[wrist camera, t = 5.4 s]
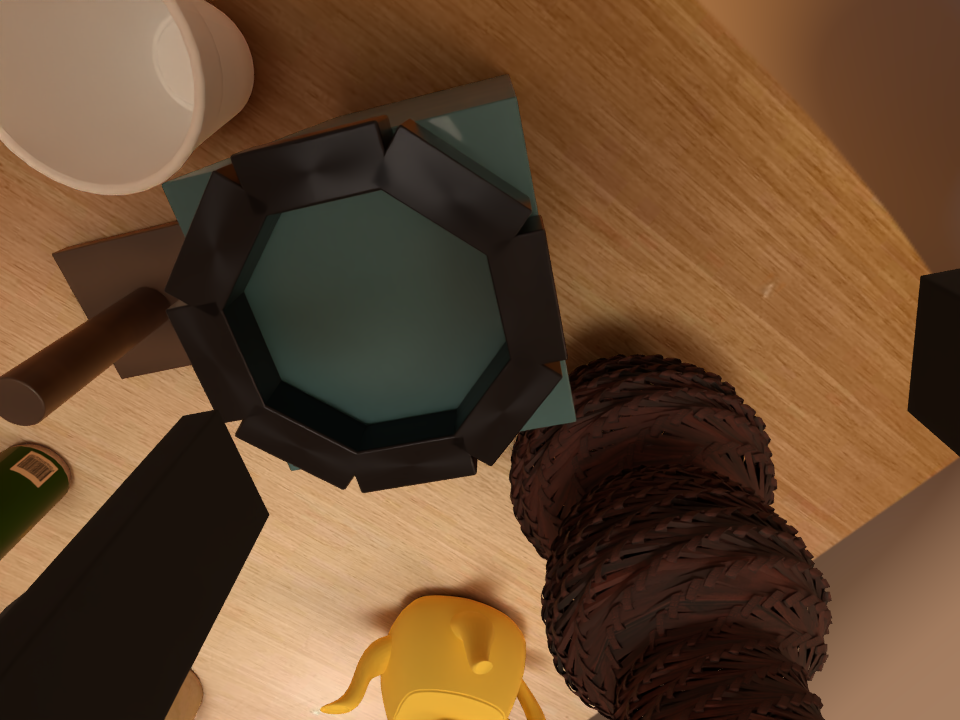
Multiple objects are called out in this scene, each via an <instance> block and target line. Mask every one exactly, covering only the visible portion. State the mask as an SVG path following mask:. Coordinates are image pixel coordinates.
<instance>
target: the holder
mask: <svg viewBox="0 0 960 720" xmlns="http://www.w3.org/2000/svg"><path fill="white" fill-rule="evenodd" d="M184 239H185V236H184V234H183V232H182V230H181V227H180V225H179V223H178V221H175V222H171V223H167V224H163V225H158V226H154V227H150V228H146V229H141V230H137V231H133V232H129V233H124V234H120V235H116V236H112V237H108V238H103V239H99V240H95V241H91V242H86V243H82V244H78V245H74V246H70V247H66V248H64V249H62V250H59V251H57V252H55V253H53V254H52V256H53V257H54V259H55V261H56V263H57V264H58V266H59V268H60V270H61V272H62V273H63V275H64V277H65V279H66V280H67V282H68V284H69V286H70V288H71V289H72V291H73V293H74V295H75V297H76V298H77V300H78V302H79V304H80V305H81V307H82V309H83V311H84V313H85V314H86V316H87V318H88V321H86V322H85V323H83V324H81V325H80V326H78V327H77V328H75V329H74V330H72V331H71V332H69V333H67V334H66V335H64V336H63V337H61V338H60V339H58V340H57V341H55V342H53V343H52V344H50V345H49V346H47V347H46V348H44V349H43V350H41V351H39V352H38V353H36V354H35V355H33V356H32V357H30V358H29V359H27V360H25V361H24V362H22V363H21V364H19V365H18V366H16V367H14V368H13V369H11V370H10V371H8V372H7V373H5V374H4V375H2V376H0V416H1V417H2V418H4V419H5V420H7V421H9V422H11V423H13V424H17V425H21V426H30V425H35V424H37V423H39V422H41V421H42V420H43V419H44V418H46V417H47V416H48V415H49V414H51V413H52V412H53V411H54V410H56V409H57V408H58V407H59V406H61V405H62V404H63V403H64V402H66V401H67V400H68V399H69V398H71V397H72V396H73V395H75V394H76V393H77V392H78V391H80V390H81V389H82V388H83V387H85V386H86V385H87V384H88V383H90V382H91V381H92V380H93V379H95V378H96V377H97V376H98V375H100V374H101V373H102V372H103V371H105V370H106V369H107V368H108V367H110V366H111V365H112V364H114V366H115V368H116V370H117V371H118V373H119V375H120V377H121V378H122V379H124V378H129V377H134V376H139V375H144V374H149V373H154V372H159V371H164V370H169V369H174V368H179V367H184V366H189V365H191V363H190V361H189V358H188V356H187V354H186V352H185V350H184V348H183V346H182V344H181V342H180V340H179V338H178V336H177V334H176V332H175V330H174V328H173V326H172V324H171V322H170V320H169V318H168V316H167V314H166V309H168V308H169V307H170V306H172V305H173V304H174V303H176V302H177V301H178V299H176V298H175V297H173V296H171V295H169V294H167V293H165V292H164V288H165V286H166V283H167V281H168V279H169V276H170V274H171V271H172V269H173V266H174V264H175V261H176V259H177V257H178V254H179V252H180V249H181V247H182V244H183V242H184Z"/></svg>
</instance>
